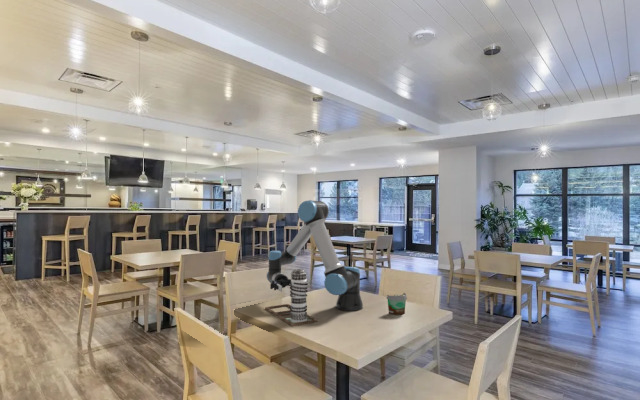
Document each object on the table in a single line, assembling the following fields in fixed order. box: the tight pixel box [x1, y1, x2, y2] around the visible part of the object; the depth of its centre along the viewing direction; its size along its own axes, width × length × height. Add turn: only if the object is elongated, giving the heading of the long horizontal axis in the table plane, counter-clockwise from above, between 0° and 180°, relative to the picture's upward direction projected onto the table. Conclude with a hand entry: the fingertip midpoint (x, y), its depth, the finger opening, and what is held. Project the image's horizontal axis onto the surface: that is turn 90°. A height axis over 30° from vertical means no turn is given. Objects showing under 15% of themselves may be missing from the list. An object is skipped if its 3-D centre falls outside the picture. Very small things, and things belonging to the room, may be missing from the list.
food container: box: [386, 292, 408, 316], centre depth 190 cm, size 12×6×10 cm, turn 117°
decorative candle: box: [289, 268, 309, 322], centre depth 178 cm, size 9×9×25 cm
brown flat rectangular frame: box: [265, 303, 318, 327], centre depth 187 cm, size 34×14×1 cm, turn 30°
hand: (293, 287), depth 184 cm, fingers open, 13 cm apart
